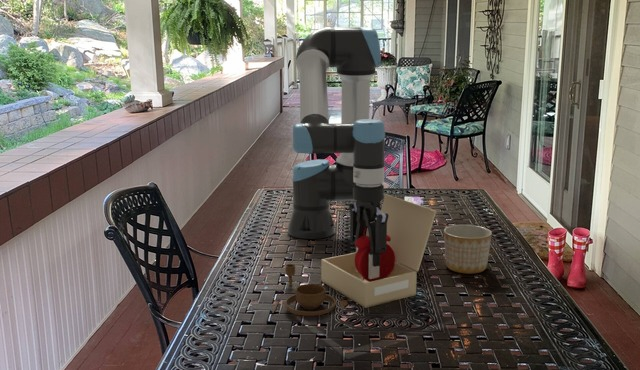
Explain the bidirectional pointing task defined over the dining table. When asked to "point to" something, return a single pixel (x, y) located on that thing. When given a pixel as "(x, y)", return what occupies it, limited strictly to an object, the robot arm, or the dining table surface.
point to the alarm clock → (363, 259)
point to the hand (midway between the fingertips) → (367, 274)
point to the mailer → (365, 293)
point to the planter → (467, 248)
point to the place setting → (308, 297)
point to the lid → (407, 229)
